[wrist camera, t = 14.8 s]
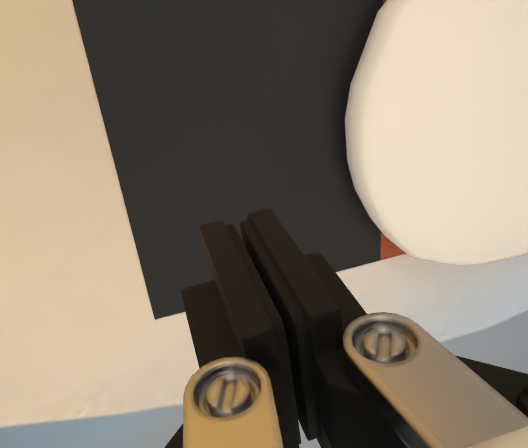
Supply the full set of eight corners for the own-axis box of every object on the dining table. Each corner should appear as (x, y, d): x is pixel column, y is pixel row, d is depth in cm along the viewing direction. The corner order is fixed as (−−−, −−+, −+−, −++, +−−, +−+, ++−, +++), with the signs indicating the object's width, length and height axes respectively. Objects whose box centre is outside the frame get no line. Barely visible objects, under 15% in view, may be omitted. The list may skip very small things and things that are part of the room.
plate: (390, 321, 41) (320, -27, 28) (362, 278, 47) (292, -30, 34) (703, 210, 42) (779, -180, 29) (638, 180, 48) (676, -157, 34)
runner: (65, -28, 28) (65, -29, 28) (628, -92, 37) (629, -92, 37) (154, 318, 40) (154, 319, 40) (566, 210, 49) (567, 211, 48)
